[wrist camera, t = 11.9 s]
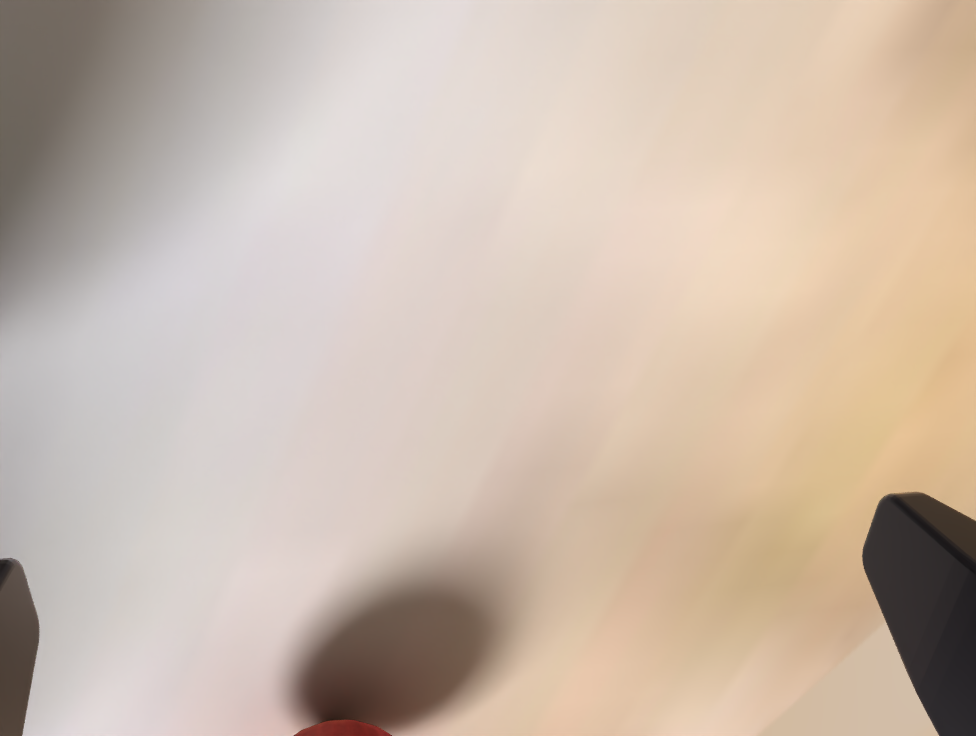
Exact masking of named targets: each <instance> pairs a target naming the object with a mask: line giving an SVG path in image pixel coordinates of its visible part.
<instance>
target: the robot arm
mask: <svg viewBox="0 0 976 736" xmlns="http://www.w3.org/2000/svg"><path fill="white" fill-rule="evenodd" d="M862 558H863V565H864V569H865V573H866V575H867V577H868V580H869V582H870V585H871V587H872V589H873V592H874V594H875V597H876V599H877V601H878V604H879V606H880V609H881V611H882V613H883V616H884V618H885V620H886V623H887V625H888V627H889V630H890V632H891V635H892V637H893V640H894V642H895V644H896V646H897V649H898V652H899V654H900V656H901V659H902V661H903V663H904V666H905V668H906V671H907V673H908V675H909V677H910V679H911V682H912V684H913V686H914V688H915V690H916V693H917V695H918V697H919V699H920V700H921V702H922V704H923V706H924V708H925V710H926V712H927V714H928V716H929V718H930V719H931V721H932V723H933V725H934V727H935V729H936V731H937V732H938V734H939V736H976V521H975V520H973V519H971V518H969V517H967V516H966V515H964V514H962V513H960V512H958V511H956V510H954V509H953V508H951V507H949V506H947V505H945V504H943V503H941V502H939V501H938V500H936V499H934V498H932V497H930V496H928V495H926V494H924V493H920V492H907V493H893V494H888V495H886V496H884V497H883V498H882V499H881V500H880V501H879V504H878V506H877V509H876V512H875V515H874V517H873V520H872V523H871V526H870V529H869V532H868V535H867V538H866V541H865V544H864V547H863V555H862ZM38 643H39V620H38V616H37V612H36V609H35V606H34V602H33V599H32V596H31V593H30V589H29V586H28V583H27V579H26V576H25V573H24V570H23V567H22V566H21V564H20V563H19V561H17V560H15V559H12V558H3V559H0V736H22V734H23V728H24V723H25V717H26V711H27V706H28V700H29V694H30V689H31V683H32V677H33V672H34V666H35V660H36V655H37V649H38Z"/></svg>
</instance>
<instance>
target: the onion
mask: <svg viewBox="0 0 976 736" xmlns="http://www.w3.org/2000/svg"><path fill="white" fill-rule="evenodd" d="M294 736H392V735H390V734H389V733H387V732H386V731H384V730H382V729H381V728H379V727H377V726H374V725H371V724H367V723H363V722H359V721H356V720H331V721H325V722H322V723H320V724H317V725H314V726H311V727H308V728H306V729H303V730H301V731H300V732H298V733H297V734H295V735H294Z"/></svg>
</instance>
